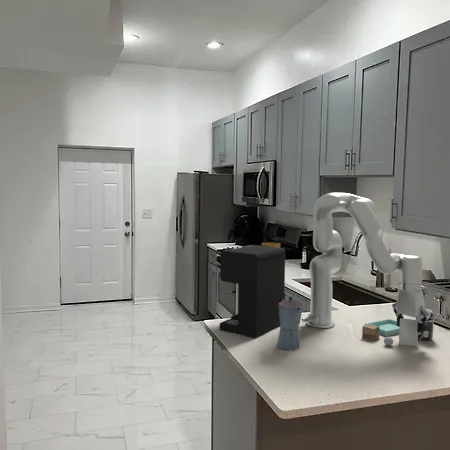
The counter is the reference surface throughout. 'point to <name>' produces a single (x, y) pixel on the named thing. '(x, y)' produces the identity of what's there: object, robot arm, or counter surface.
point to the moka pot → (289, 324)
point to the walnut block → (370, 332)
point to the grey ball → (388, 341)
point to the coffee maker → (254, 288)
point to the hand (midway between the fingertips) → (410, 329)
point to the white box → (408, 332)
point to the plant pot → (271, 244)
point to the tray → (386, 327)
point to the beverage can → (427, 328)
